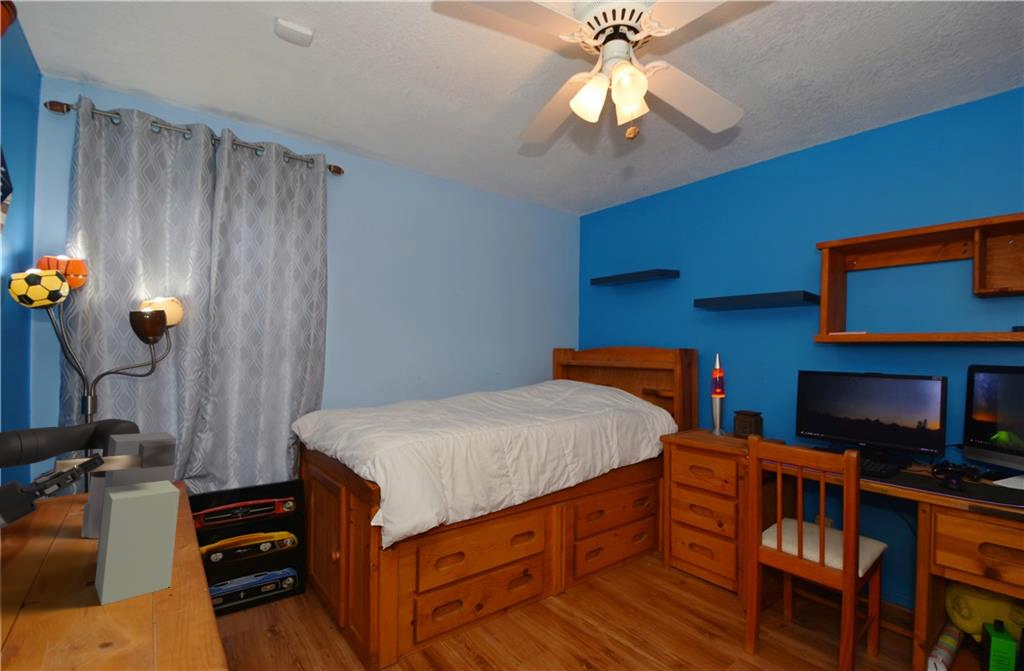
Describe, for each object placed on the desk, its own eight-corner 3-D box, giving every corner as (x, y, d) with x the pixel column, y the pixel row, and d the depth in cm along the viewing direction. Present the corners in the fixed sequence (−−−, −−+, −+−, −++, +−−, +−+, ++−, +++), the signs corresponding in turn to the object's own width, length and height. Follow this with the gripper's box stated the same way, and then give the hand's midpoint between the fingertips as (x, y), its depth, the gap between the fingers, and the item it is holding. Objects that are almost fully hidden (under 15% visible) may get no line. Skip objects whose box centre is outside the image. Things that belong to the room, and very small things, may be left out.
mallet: (56, 476, 95) (58, 452, 95) (54, 471, 99) (57, 447, 99) (173, 465, 109) (175, 444, 110) (168, 460, 114) (170, 440, 114)
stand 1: (102, 578, 109) (116, 442, 111) (96, 562, 117) (109, 435, 119) (164, 564, 118) (176, 438, 120) (154, 550, 126) (166, 431, 128)
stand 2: (101, 605, 98) (112, 499, 99) (94, 585, 106) (105, 487, 107) (170, 587, 106) (179, 490, 108) (159, 570, 114) (168, 480, 116)
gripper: (-19, 503, 85) (95, 448, 96) (-15, 486, 94) (88, 438, 106) (7, 534, 87) (115, 477, 99) (8, 515, 97) (106, 465, 108)
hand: (100, 457), depth 102 cm, fingers closed on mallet, 3 cm apart
